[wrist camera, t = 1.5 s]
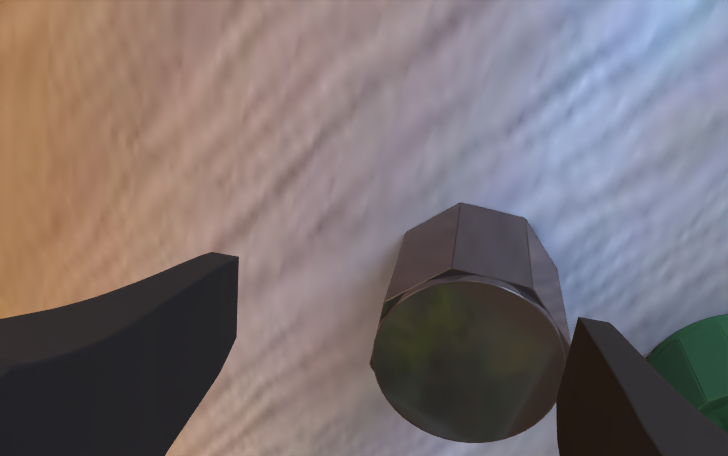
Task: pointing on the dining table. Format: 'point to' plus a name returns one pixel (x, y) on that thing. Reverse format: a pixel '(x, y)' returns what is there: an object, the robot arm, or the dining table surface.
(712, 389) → the bottle
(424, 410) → the faceted brown jar
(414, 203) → the dining table surface
